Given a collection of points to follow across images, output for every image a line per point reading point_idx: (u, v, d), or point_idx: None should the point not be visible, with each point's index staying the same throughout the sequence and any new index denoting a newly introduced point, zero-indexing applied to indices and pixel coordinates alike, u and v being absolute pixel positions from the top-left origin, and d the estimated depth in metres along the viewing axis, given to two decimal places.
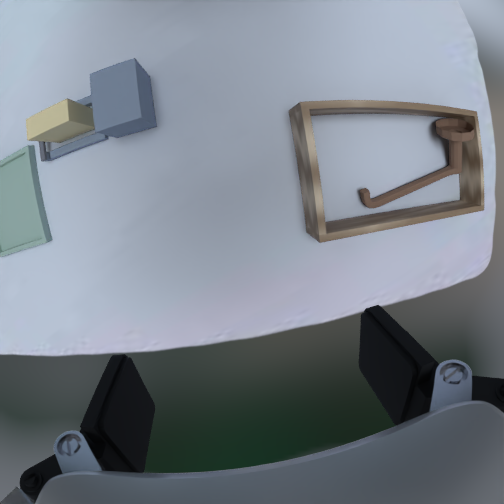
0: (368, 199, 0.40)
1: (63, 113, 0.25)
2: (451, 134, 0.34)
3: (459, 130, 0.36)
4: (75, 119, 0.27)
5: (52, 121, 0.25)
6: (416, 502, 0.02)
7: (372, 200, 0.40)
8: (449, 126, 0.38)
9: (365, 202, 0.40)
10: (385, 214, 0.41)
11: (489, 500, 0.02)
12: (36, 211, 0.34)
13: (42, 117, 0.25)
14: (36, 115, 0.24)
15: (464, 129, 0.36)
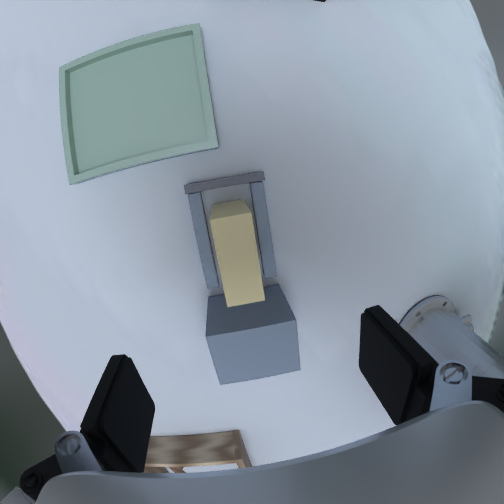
0: (175, 467, 0.40)
1: (240, 297, 0.22)
2: None
3: None
4: None
5: (232, 276, 0.21)
6: (416, 502, 0.02)
7: (175, 467, 0.41)
8: None
9: None
10: None
11: (489, 500, 0.02)
12: (110, 166, 0.24)
13: (244, 253, 0.21)
14: (252, 239, 0.21)
15: None
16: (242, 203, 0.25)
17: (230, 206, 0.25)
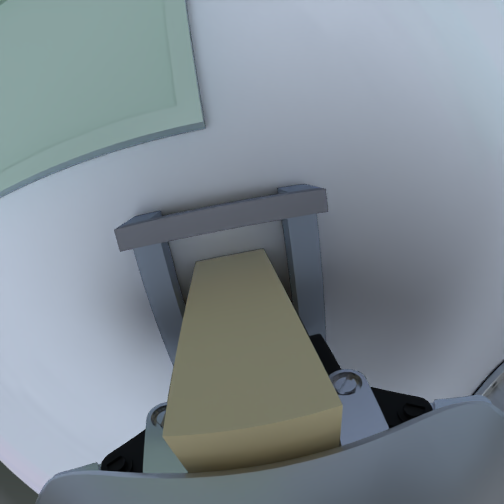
0: None
1: None
2: None
3: None
4: None
5: None
6: (416, 502, 0.02)
7: None
8: None
9: None
10: None
11: (489, 500, 0.02)
12: None
13: None
14: None
15: None
16: (272, 280, 0.09)
17: (239, 296, 0.08)
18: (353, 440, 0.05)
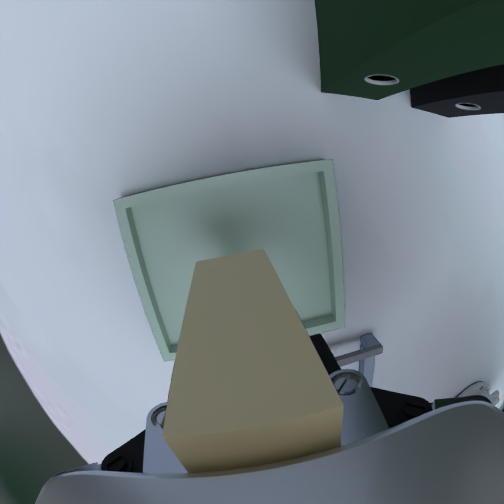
0: None
1: None
2: None
3: None
4: None
5: None
6: (416, 502, 0.02)
7: None
8: None
9: None
10: None
11: (489, 500, 0.02)
12: None
13: None
14: None
15: None
16: (272, 280, 0.09)
17: (240, 296, 0.08)
18: (353, 440, 0.05)
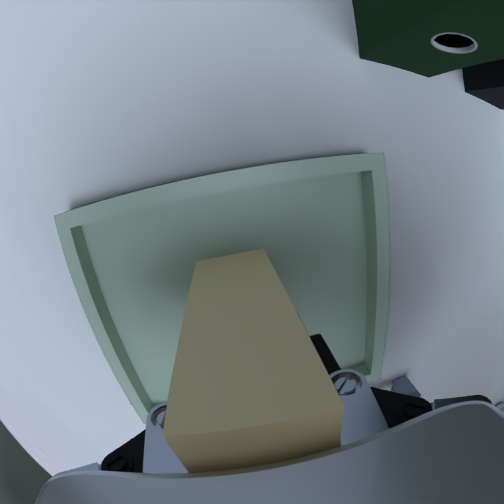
0: None
1: None
2: None
3: None
4: None
5: None
6: (416, 502, 0.02)
7: None
8: None
9: None
10: None
11: (489, 500, 0.02)
12: None
13: None
14: None
15: None
16: (272, 280, 0.09)
17: (239, 295, 0.08)
18: (353, 440, 0.05)
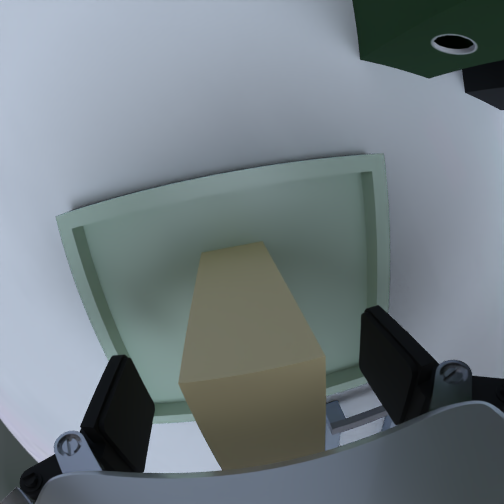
0: None
1: None
2: None
3: None
4: None
5: None
6: (416, 502, 0.02)
7: None
8: None
9: None
10: None
11: (489, 500, 0.02)
12: None
13: (289, 443, 0.06)
14: (315, 416, 0.06)
15: None
16: (269, 266, 0.11)
17: (241, 278, 0.10)
18: None
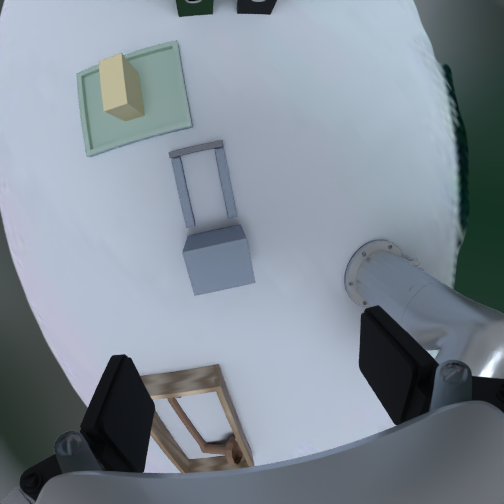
0: None
1: (112, 103, 0.26)
2: (230, 450, 0.51)
3: (234, 452, 0.55)
4: (111, 112, 0.28)
5: (107, 90, 0.25)
6: (416, 502, 0.02)
7: (173, 397, 0.50)
8: (236, 444, 0.58)
9: None
10: (158, 422, 0.51)
11: (489, 500, 0.02)
12: (117, 142, 0.34)
13: (115, 75, 0.25)
14: (120, 66, 0.25)
15: (235, 455, 0.56)
16: None
17: None
18: None
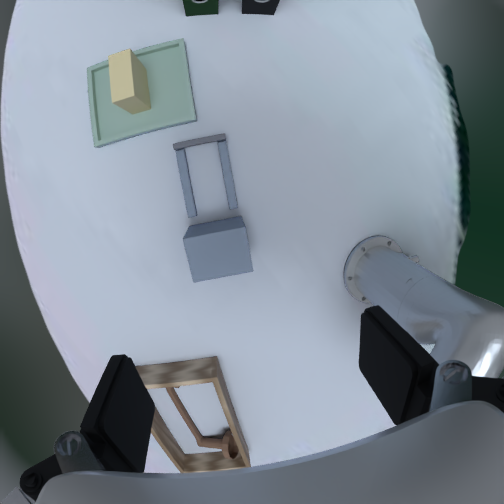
0: None
1: (119, 95, 0.28)
2: (226, 444, 0.52)
3: (230, 446, 0.56)
4: (119, 104, 0.29)
5: (116, 83, 0.27)
6: (416, 502, 0.02)
7: (171, 387, 0.51)
8: (233, 439, 0.58)
9: None
10: (155, 414, 0.52)
11: (489, 500, 0.02)
12: (124, 133, 0.36)
13: (124, 69, 0.27)
14: (129, 61, 0.26)
15: (232, 450, 0.56)
16: None
17: None
18: None
